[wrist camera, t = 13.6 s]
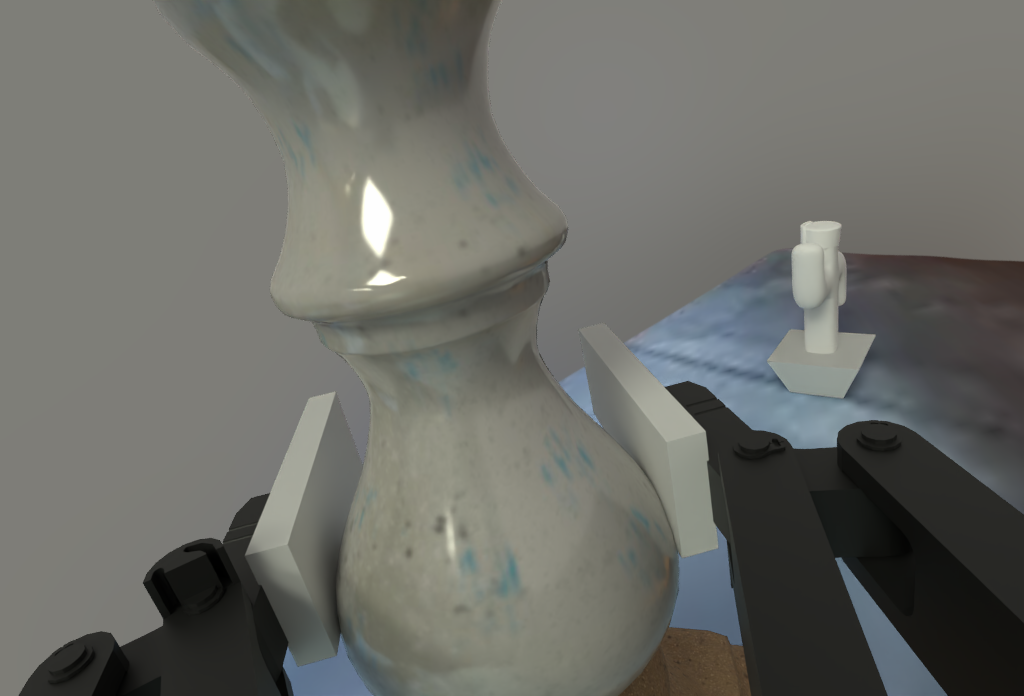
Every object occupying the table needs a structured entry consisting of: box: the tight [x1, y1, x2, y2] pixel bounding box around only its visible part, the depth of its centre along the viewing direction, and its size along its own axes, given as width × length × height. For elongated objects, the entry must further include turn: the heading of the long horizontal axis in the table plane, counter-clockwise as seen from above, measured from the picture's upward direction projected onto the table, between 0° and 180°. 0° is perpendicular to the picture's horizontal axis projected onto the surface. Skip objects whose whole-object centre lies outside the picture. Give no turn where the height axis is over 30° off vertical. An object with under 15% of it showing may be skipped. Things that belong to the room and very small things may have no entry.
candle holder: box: [153, 0, 751, 696], centre depth 13 cm, size 11×11×24 cm
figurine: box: [767, 221, 876, 399], centre depth 52 cm, size 7×9×15 cm
